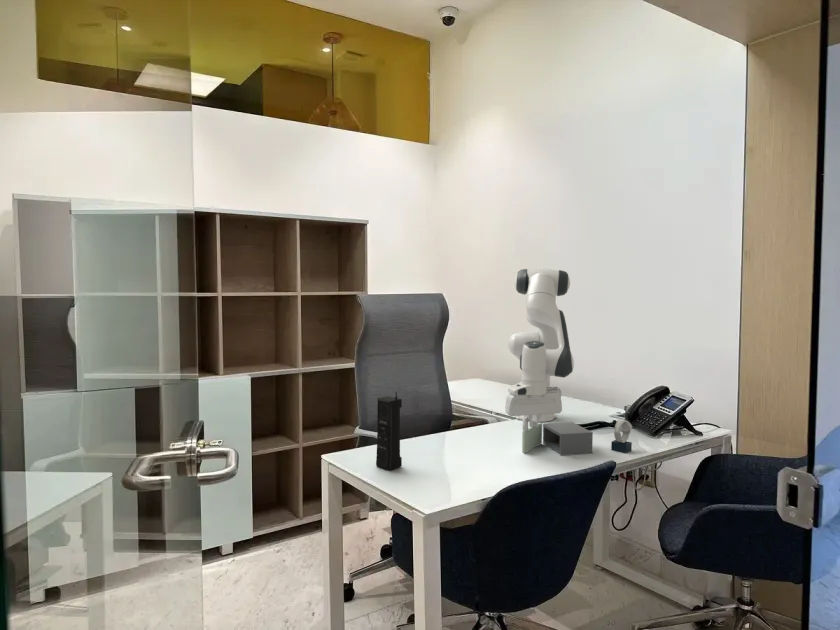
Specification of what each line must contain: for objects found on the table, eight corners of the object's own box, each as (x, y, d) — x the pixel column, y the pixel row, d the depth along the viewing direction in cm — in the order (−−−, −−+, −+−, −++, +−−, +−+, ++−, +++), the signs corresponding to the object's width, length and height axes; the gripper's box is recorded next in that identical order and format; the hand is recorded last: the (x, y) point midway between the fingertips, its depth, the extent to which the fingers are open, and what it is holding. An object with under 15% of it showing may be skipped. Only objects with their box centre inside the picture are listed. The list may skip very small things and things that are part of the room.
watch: (633, 449, 196) (634, 419, 196) (624, 454, 191) (624, 423, 190) (618, 446, 200) (619, 417, 200) (608, 451, 195) (609, 420, 194)
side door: (538, 442, 205) (538, 410, 204) (543, 443, 203) (543, 411, 203) (520, 452, 192) (521, 418, 192) (525, 453, 191) (526, 419, 191)
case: (542, 443, 204) (542, 423, 204) (572, 441, 207) (572, 422, 206) (560, 455, 190) (561, 434, 189) (592, 453, 192) (592, 432, 192)
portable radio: (372, 465, 179) (372, 390, 178) (386, 461, 183) (386, 388, 182) (388, 471, 173) (388, 393, 172) (402, 467, 178) (402, 391, 176)
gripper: (557, 385, 196) (556, 422, 197) (503, 387, 192) (503, 426, 192) (565, 388, 190) (565, 427, 191) (510, 391, 185) (510, 430, 186)
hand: (533, 426), depth 191 cm, fingers closed
